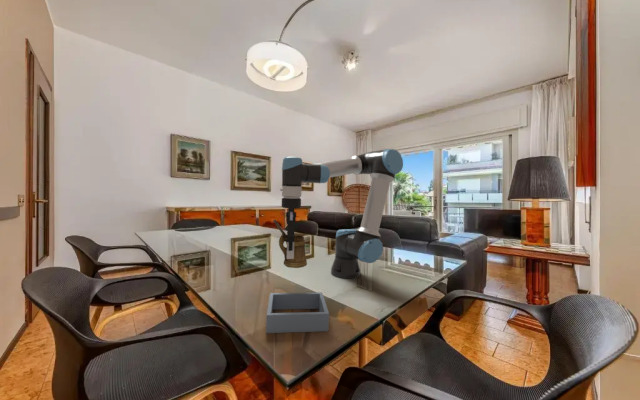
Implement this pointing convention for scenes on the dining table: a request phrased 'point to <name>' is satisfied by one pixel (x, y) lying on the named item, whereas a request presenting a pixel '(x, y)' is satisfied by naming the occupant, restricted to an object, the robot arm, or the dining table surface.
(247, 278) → the dining table surface
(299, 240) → the wooden mug
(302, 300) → the box
